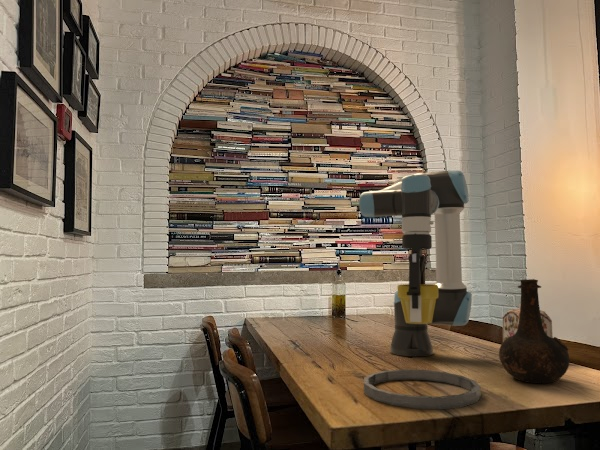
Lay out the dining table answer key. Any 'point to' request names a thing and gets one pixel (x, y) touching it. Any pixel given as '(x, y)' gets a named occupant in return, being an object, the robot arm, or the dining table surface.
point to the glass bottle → (533, 344)
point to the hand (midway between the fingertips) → (418, 319)
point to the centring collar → (422, 401)
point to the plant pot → (427, 302)
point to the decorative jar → (513, 320)
